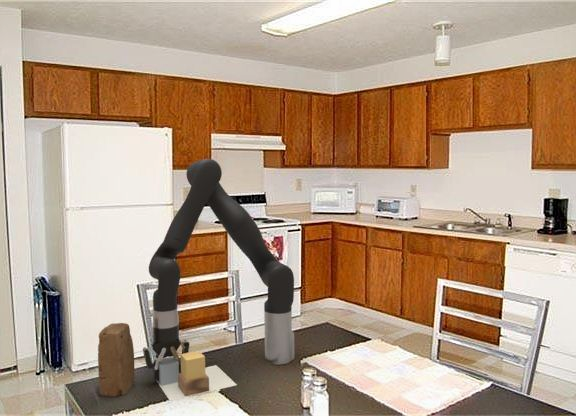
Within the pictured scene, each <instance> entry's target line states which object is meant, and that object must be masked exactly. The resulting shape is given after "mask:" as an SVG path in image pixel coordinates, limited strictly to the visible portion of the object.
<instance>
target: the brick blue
mask: <svg viewBox="0 0 576 416" xmlns="http://www.w3.org/2000/svg"><path fill="white" fill-rule="evenodd" d="M158 369H159V381H158V383H159V384H160V385H161V386H163V385H167V384H172V383H176V382H178V374H179V362H178V361H176V360H175V359H174V358H173V356H172V357H166V358H162V361H161V363H160V364H159V367H158ZM158 383H157V384H158ZM159 384H158V385H159Z"/></svg>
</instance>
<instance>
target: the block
mask: <svg viewBox="0 0 576 416" xmlns="http://www.w3.org/2000/svg"><path fill="white" fill-rule="evenodd" d="M130 329H131V328H130V325H129V324H128V323H125V322H124V323H123V322H119V323H110V324H109V325H107V326H104V328H103V329H101V331H100V332H99V334H98V339H99V340H98V342H99V343H98V345H97V351H98V353H97V364H98V365H97V366H98V370H97V371H98V384H99V385H98V386H99V387H98V388H99V393H100V396H104V397H118V396H125V394H126V393H128V392H129V391H130V390H131V388H132V387H133V384H134V380H135V349H134V342H133V338H132V334H131V330H130Z"/></svg>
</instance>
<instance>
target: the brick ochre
mask: <svg viewBox="0 0 576 416" xmlns="http://www.w3.org/2000/svg"><path fill="white" fill-rule="evenodd" d="M180 357H181V375H182V376H183V377H184V378H185V379H186V381H189V380H194V379H198V378H203V377H205V368H206V356H205V355H204V354H203V353H202V352H201V351H200V350H195V351H190V352H189V351H188V353H184V354H182V353H180Z"/></svg>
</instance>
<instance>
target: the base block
mask: <svg viewBox="0 0 576 416" xmlns="http://www.w3.org/2000/svg"><path fill="white" fill-rule="evenodd" d="M178 387H179V389H180V390H181V391H182V393H183V394H184V395H185V396H189V395H194V394H198V393H202V392H206V391H209V377H208V376H207V375H206V374H205V377H203V378H198V379H194V380H189V381H186V379H185V378H184V377H183V376H182V375H181V373H179V374H178ZM206 393H207V392H206ZM202 394H203V393H202ZM198 395H199V394H198ZM194 396H195V395H194ZM189 397H190V396H189Z"/></svg>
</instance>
